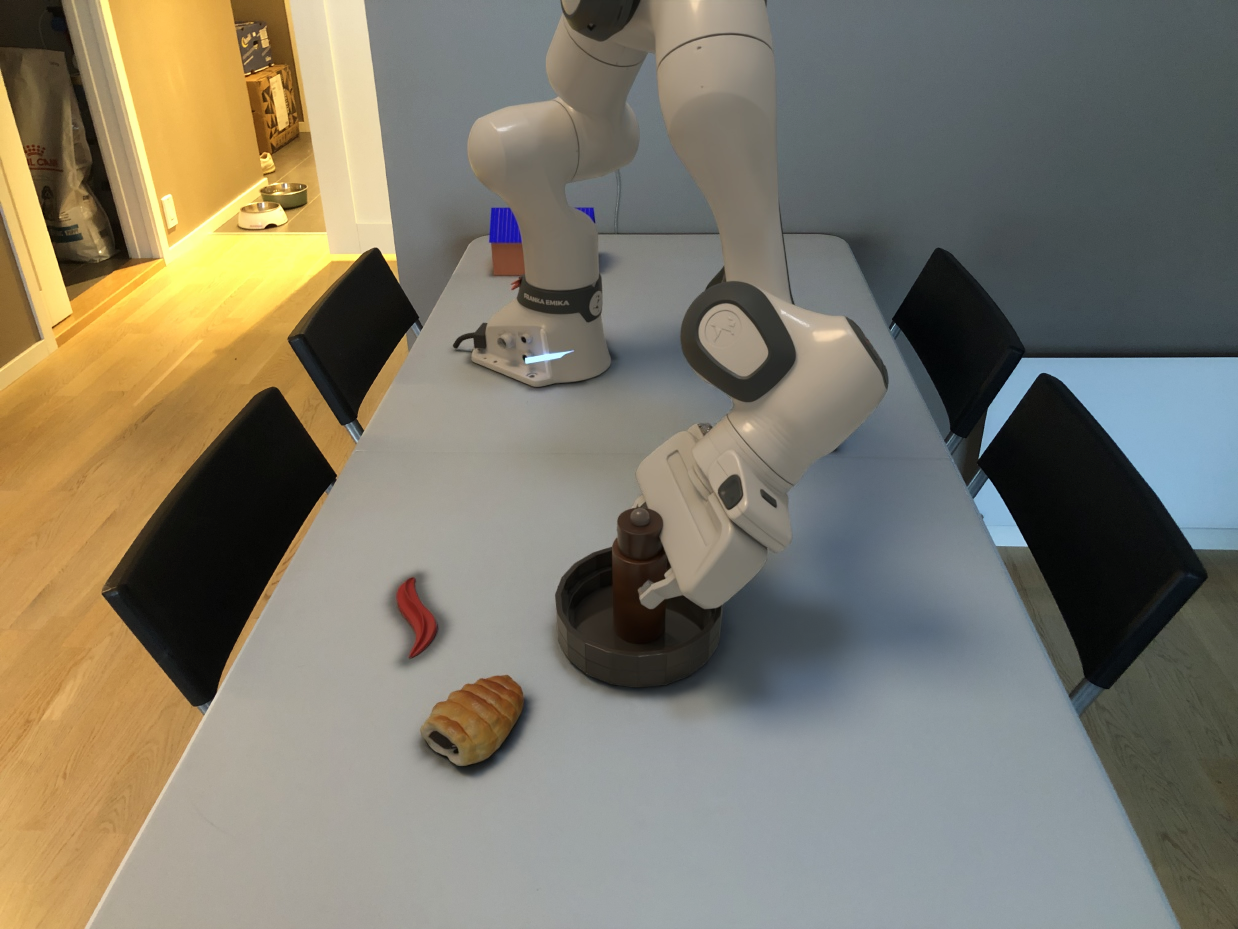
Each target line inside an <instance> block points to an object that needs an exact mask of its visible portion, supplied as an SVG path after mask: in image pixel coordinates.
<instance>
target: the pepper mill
mask: <svg viewBox="0 0 1238 929" xmlns="http://www.w3.org/2000/svg"><path fill="white" fill-rule="evenodd" d="M616 525H617V526H616V538H614V541H613V542H612V546H611V547H612V575H613V627H614V630H615V632H616V634H617V635H618V636H619V637H620V638H622V639H624V640H626V641H628V642H632V643H648V642H651V641H654V640H656V639H657V638H659V637H660V636H661V635H662V633H663V632H664V630H665V618H666V599H664V600H663V601H662V602H661V603H660V604H659V605H658V606H656V607H655V608H654V609H648V608H647V607H645V606H644V605H642V604H641V602H640V599H639V596H638V593H637V590H638V589H639V588H640V587H642V586H643V584H644V583H645V582H646V581H647V580H648V579H649V580H650V581H652V582H653V583H656V582H659V581H662V580H664V579H666V578H665V576H664V575H665V573H666V572H667V555H666V553H665V550H664V547H663V545H662V542H661V540H660V533H661V530H662V526H663V519H662V517H661V515H660V514H659V513H657V512H656V511H654V510H651V509H648V508H632V507H631V508H628V509H626V510H624V511H622V512H621V513H620V514H619V515H618V517H617V520H616Z"/></svg>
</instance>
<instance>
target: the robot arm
mask: <svg viewBox="0 0 1238 929" xmlns="http://www.w3.org/2000/svg"><path fill="white" fill-rule="evenodd" d="M559 1H560V6H561V7H560V8H561V11H562V13H561V16H560V18H559V21H558V24H557V27H556V28H555V31H554V35H553V37H552V38H551V39H552V40H551V42H550V44H549V47H548V50H547V52H546V55H545V71H546V76H547V80H548V83H549V85H550V87H551V88H552V90H553V92H554V93H555V94H556V96H557V97H555V98H552V99H548V100H544V101H535V102H529V103H522V104H515V105H508V106H505V107H503V108H500V109H497V110H494V111H492V112H490V113H488V114H485V115H483V116H480V117H479V118H477V119H476V120H475V121H474V123H473V125H472V127H471V128H470V131H469V135H468V139H467V147H466V148H467V149H466V150H467V158H468V161H469V165H470V168H471V170H472V172H473V174H474V176H475V178H476V179H477V180H478V181H479V182H480V183H481V184H482V185H483V187H485V188H486V189H488V190H489V191H491V192H492V193H494V194H495V195H497V196H498V197H499V198H500V199H501V200H502V201H504V203H505V204H506V205H507V207H508V208H510V209H511V211H512V212H513V214H514V216H515V218H516V221H517V223H518V226H519V229H520V234H521V240H522V247H523V255H524V265H525V274H524V275H519V276H518V279H516V280H514V281H513V282H511V283H510V286H511V288H510V290H511V291H514V290H516V289H518V291H517V295H516V297H514V299H512V300H511V301H509V302H508V303H507V304H506V305H505V306H503V307H501V309H500V310H498V311H497V312H495V313H494V314H493V315H492V316H491V317H490V318H489V319H488V322H482V323H481V324H480V326H479V327H478V328H477V329H476V330H475V331H473V332H468V333H464V334H462V335H459V336H458V337H457V338H455V341H454V342H453V344H452V348H454V349H455V350H457V349H458V348H459V347H460V345H461V344H462V342H464V341H466V340H470V339H472V340H473V350H472V353H471V361H472V362H473V363H475V364H478V365H480V366H482V367H484V368H487V369H489V370H492V371H494V372H496V373H499V374H502V375H504V376H507V377H509V378H511V379H514V380H516V381H519V382H521V383H524V384H526V385H527V386H528V385H529V386H531V387H534V388H539V387H545V386H548V385H552V384H553V385H554V384H560V383H561V384H562V383H573V382H574V383H575V382H580V381H586V380H588V379H589V380H590V379H592V378H595V377H597V376H599V375H601V374H602V373H604V372H605V371H607V370H608V369H609V367H610V366H611V364H612V358H611V355H610V351H609V348H608V345H607V342H606V336H605V331H604V324H603V319H602V318H603V317H602V313H603V301H604V300H603V298H604V297H603V277H602V275H601V273H600V262H599V259H600V257H599V256H600V254H599V231H598V228H597V225H596V224H594V222H593V221H592V219H591V218H590V217H589V216H588V215H587V214H585V213H584V212H582V211H580V210H578V209H576V208H574V207H575V206H571V205H569V203H568V200H567V196H566V195H567V194H566V186H567V184H572V183H578V182H581V181H587V180H591V179H592V180H593V179H596V178H601V177H604V176H606V175H610V174H611V173H613V172H615V171H618V170H619V169H622V168H624V167H626V166H628V165H629V164H631V163H632V161H633V160H634V159H635V157H636V155H637V153H638V151H639V146H640V140H641V132H640V125H639V120H638V118H637V115H636V113H635V111H634V110H633V108H632V107H631V106H630V104H629V103H628V102H627V99H628V96H629V94H630V92H631V89H632V87H633V85H634V83H635V81H636V79H637V76H638V74H639V72H640V70H641V68H642V66H643V64H644V62H645V60H646V58H647V56H648V54H655V70H656V84H657V93H658V94H657V95H658V101H659V107H660V111H661V115H662V120H663V122H664V126H665V130H666V133H667V136H668V139H669V142H670V145H671V148H672V149H673V151H674V153H675V155H676V156H677V157H678V159H679V160H680V162H681V163H682V165H683V166H684V168H685V169H686V171H687V172H688V174H689V175H690V176H691V179H693V181H694V183H695V184H696V185H697V187H698V189H699V190H700V192H701V193H702V195H703V197H704V198H705V200H706V202H707V204H708V206H709V208H710V210H711V212H712V215H713V218H714V220H715V223H716V226H717V229H718V234H719V238H720V244H721V245H720V246H721V253H722V260H723V266H724V268H725V275H726V282H722V283H719V284H716V285H714V286H712V287H710V288H708V289H706V288H705V289H706V290H705V289H704V291H702V292H701V293H700V294H698V296H696V298H694V299H693V301H692V302H691V303H690V305H689V307H688V308H687V310H686V312H685V314H684V316H683V318H682V322H681V326H680V332H679V335H680V336H679V341H680V348H681V351H682V355H683V357H684V359H685V360H686V362H687V364H688V365H689V367H690V368H691V369H692V370H693V372H694V373H695V374H696V375H697V376H698V377H699V379H701V380H702V381H704V382H706V383H707V384H709V385H711V386H712V387H715V388H717V389H718V390H720V391H721V392H723V393H724V394H726V395H727V397H729V398H730V399H731V401H732V408H731V409H730V410H729V411H728V413H726V414H725V415H724V416H723V417H722V418H721V419H720V420H718V421H717V423H716V424H715V425H712V424H710V423H709V422H705V423H704V422H700V423H694V424H692V425H691V426H689V427H688V428H687V429H686V430H681V431H678V432H677V433H675V434H673V435H672V436H671V437H669V438H668V439H666V440H665V441H664V442H662V444H660V445H659V446H658V447H657V448H655V449H654V450H653V451H652V452H651V453H650V454H648V455H647V456H646V457H645V458H644V459H643V460H641V462H640V463H639V465H638V467H637V469H636V471H635V474H634V476H635V478H636V481H637V482H638V486H639V488H640V492H641V494H640V495H639V496H638V497H637V498H636V499H635V501H634V502H633V505H632V507H631V508H648V509H651V510H654V511H656V512H657V513H659V514H660V515H661V517H662V519H663V526H662V530H661V533H660V540H661V542H662V545H663V547H664V550H665V553H666V555H667V558H668V560H669V563H670V565H671V568H670V569H669V570H668V571H667V572H666V573H665V575H664V576H665V578H666V579H664V580H662V581H659V582H656V583H653V582H652V581H650V580H649V579H648V580H647V581H646V582H645V583H644V584H643V586H642V587H640V588H639V589H638V590H637V593H638V596H639V599H640V602H641V604H642V605H644V606H645V607H647V608H648V609H654V608H655V607H656V606H658V605H659V604H660V603H661V602H662V601H663V600H664V599H669V598H673V597H677V596H681V595H684V596H685V597H686V598H688V599H689V600H691V601H692V602H693V603H695V604H697V605H698V606H700V607H701V608H704V609H712V608H717V607H719V606H721V605H722V604H723V605H724V604H725V603H727V602H728V601H729V600H730V599H731V598H732V597H734V596H735V595H736V594H737V593H738V592H739V591H740V590H742V589H743V588H744V587H745V586H746V585H747V584H749V582H751V580H753V578H754V577H756V575H758V573H759V572H760V571H761V570H762V568H763V567H764V565H765V564H766V562H767V560H768V556H769V551H768V550H770V551H771V552H773V553H774V554H779V553H781V552H782V551H784V550H785V549H787V548H788V546H789V545H790V544H791V543H792V540H793V531H792V525H791V518H790V509H789V495H788V492H790V490H791V489H793V488H794V487H795V486H796V485H797V484H798V483H799V482H800V480H802V478H803V476H804V475H805V472H806V471H807V470H808V469H809V468H810V466H811V465H813V464H814V463H815V462H816V461H818V460H819V459H821V458H823V457H825V456H827V455H829V454H831V453H833V452H834V451H835V450H836V449H837V448H838V447H840V446H841V445H842V444H843V442H845V441H846V440H847V439H848V438H849V437H850V436H851V435H852V434H853V433H854V432H855V431H856V430H857V429H859V427H860V426H861V425H862V424H863V423H864V422H865V421H866V420H867V419H868V418H869V417H870V416H871V415H872V413H873V412H874V411H875V410H876V409H877V407H879V405H880V404H881V403H882V401H883V400H884V398H885V396H886V394H887V392H888V389H889V384H890V383H889V382H890V381H889V379H890V378H889V373H888V368H887V366H886V365H885V363H884V361H883V360H882V358H881V356H880V355H879V353H878V352H877V350H876V348H875V347H874V346H873V344H872V343H871V341H870V339H869V338H867V336H866V334H865V333H864V331H863V329H861V327H860V326H859V325H858V324H857V322H855V321H854V320H853V319H852V318H849V317H848V316H845V315H830V314H826V313H825V314H824V313H820V312H816V311H814V310H809V309H807V308H803V307H800V306H798V305H796V303H795V300H794V296H793V293H792V287H791V280H790V273H789V265H788V259H787V250H786V244H785V236H784V228H783V221H782V213H781V205H780V197H779V162H778V96H777V94H778V93H777V73H776V71H777V70H776V61H775V60H776V59H775V52H774V50H775V49H774V42H773V35H772V31H771V25H770V20H769V19H770V18H769V14H768V9H767V7H768V0H559Z"/></svg>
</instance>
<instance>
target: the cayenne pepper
mask: <svg viewBox="0 0 1238 929" xmlns="http://www.w3.org/2000/svg"><path fill="white" fill-rule="evenodd" d="M415 583H416V577H414V576H412V577H409V578H407V579H406V580H405V581H404V582H403V583H401V585H400V586H399V587H398V589H397V591H396V602H397V607H398V609H399V611H400V613H401V615H402V616H403V617H404V619H405V620H406V621H407V622H408V623H409V625H410V626H411V628H412V629H413V631H414V634H415V641H414V644H413V646H412V648H411V649H410V652H409V654H408V659H411V658H413V657H416V656H417V655H419V654H421V653H422V652H423V651H424V650H425V649H427V647H428V646H430V644H431V643H432V642H433V640H434V638H435V636H436V634H437V631H438V625H437V621H436V618H435V617H434V614H433V613H432V612H431V611H430V610H429V609H428V608H427V607H425V606H424V604H423V603H422V601H421V599H420V598H419V596H418V594H417V591H416V587H415Z"/></svg>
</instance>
